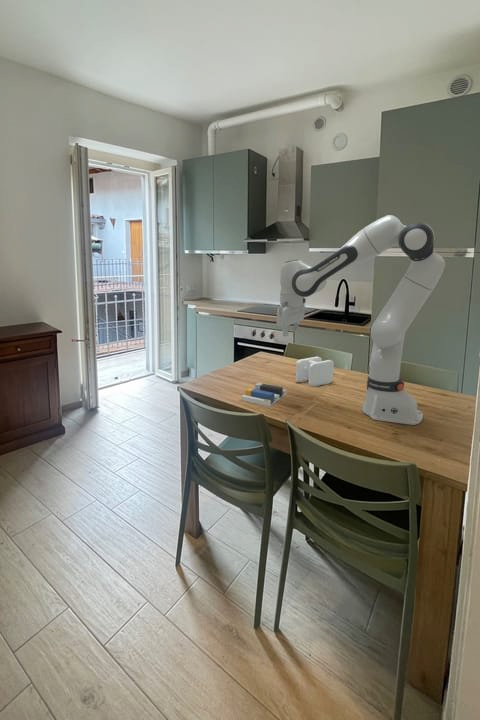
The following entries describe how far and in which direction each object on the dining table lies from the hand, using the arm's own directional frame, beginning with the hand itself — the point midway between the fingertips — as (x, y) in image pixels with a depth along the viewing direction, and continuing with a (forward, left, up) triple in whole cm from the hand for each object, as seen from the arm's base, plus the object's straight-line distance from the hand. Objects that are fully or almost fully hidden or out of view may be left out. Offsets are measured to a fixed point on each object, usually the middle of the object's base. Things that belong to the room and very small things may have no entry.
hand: (290, 333), depth 169 cm
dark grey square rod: (+8, +4, -27) cm, 29 cm away
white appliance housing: (+8, +8, -28) cm, 30 cm away
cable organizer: (-2, -24, -29) cm, 38 cm away
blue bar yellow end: (+8, +12, -27) cm, 31 cm away
